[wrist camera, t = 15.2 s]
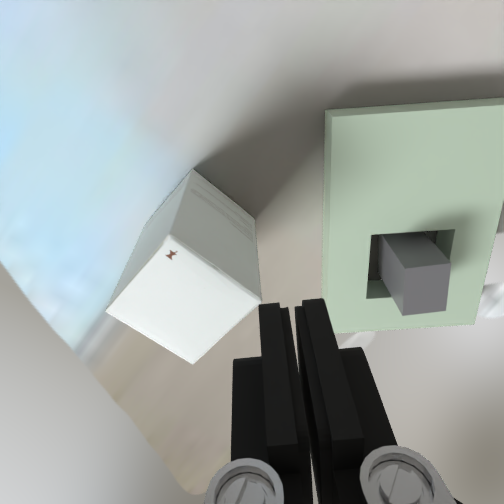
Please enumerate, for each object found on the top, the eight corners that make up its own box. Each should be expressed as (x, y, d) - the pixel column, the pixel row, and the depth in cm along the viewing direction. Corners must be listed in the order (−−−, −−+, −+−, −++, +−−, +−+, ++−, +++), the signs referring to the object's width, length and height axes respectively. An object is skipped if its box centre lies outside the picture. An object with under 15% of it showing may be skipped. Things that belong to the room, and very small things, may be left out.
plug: (378, 229, 38) (405, 268, 32) (417, 224, 38) (451, 263, 32) (377, 271, 40) (402, 315, 34) (414, 267, 40) (445, 310, 34)
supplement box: (141, 226, 37) (98, 310, 26) (193, 165, 35) (170, 230, 24) (205, 273, 40) (191, 368, 29) (258, 219, 37) (265, 301, 26)
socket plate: (325, 109, 33) (332, 116, 30) (503, 97, 33) (526, 103, 30) (321, 314, 42) (326, 334, 40) (459, 305, 42) (474, 324, 39)
